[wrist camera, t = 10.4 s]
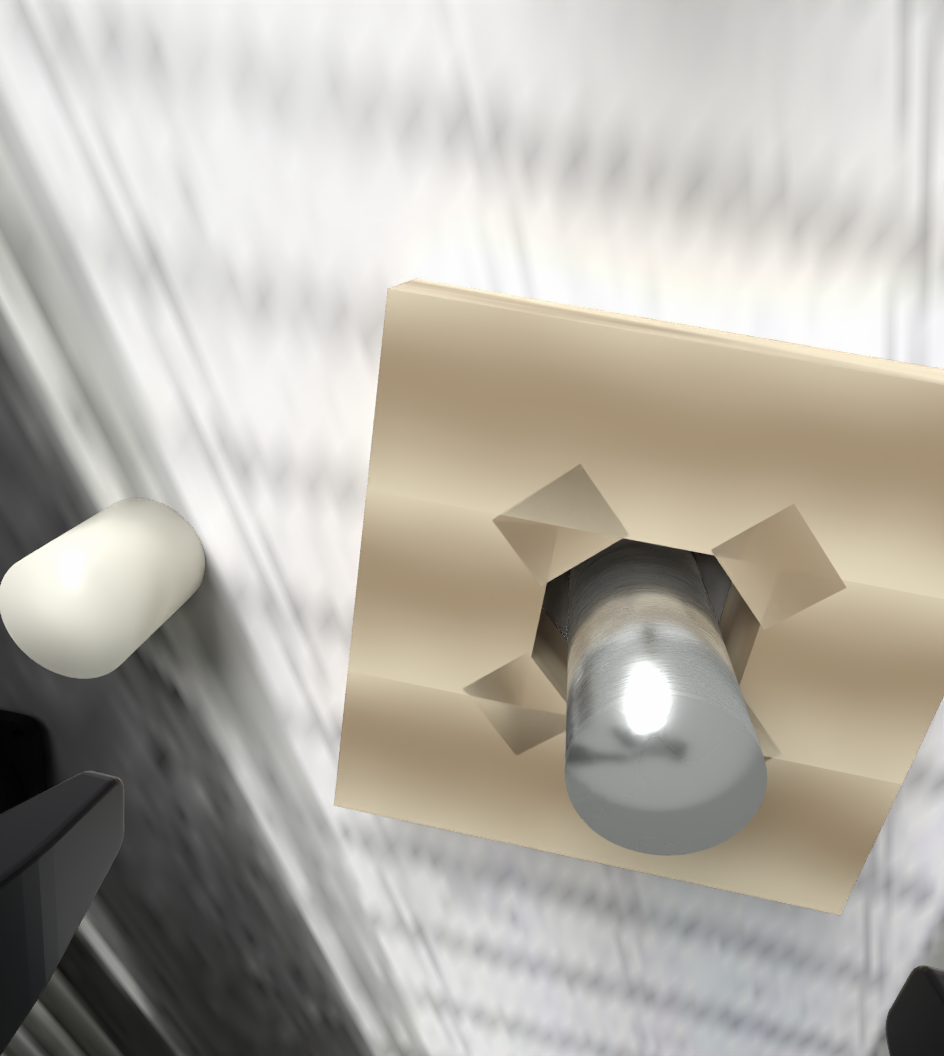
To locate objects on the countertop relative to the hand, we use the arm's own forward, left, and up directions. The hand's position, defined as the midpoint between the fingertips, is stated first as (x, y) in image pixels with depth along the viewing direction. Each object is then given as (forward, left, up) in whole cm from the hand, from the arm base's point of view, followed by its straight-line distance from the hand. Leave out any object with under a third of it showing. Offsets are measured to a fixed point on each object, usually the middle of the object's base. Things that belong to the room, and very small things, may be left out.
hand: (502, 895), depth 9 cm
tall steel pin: (-2, -3, -13) cm, 13 cm away
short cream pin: (-4, +11, -13) cm, 18 cm away
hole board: (-2, -3, -13) cm, 13 cm away
